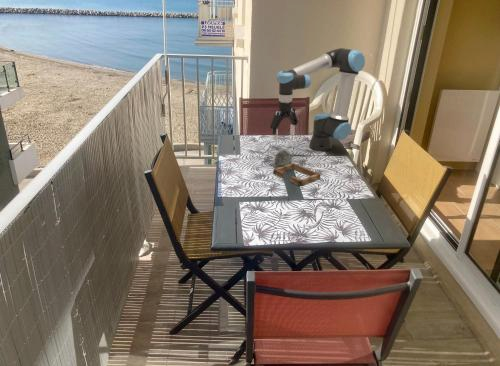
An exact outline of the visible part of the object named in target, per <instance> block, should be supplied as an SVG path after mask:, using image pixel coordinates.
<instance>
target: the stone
mask: <svg viewBox="0 0 500 366" xmlns="http://www.w3.org/2000/svg"><path fill="white" fill-rule="evenodd" d="M274 157H275V158H274V162H273V163H275V165H276V166H278V167H279V166H286V165H289V164H292V155H291V154H290V152H289V151H287V150H285V149H281V150H280V151H278V152H277V153H276V154H275V156H274Z"/></svg>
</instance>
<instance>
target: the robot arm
mask: <svg viewBox="0 0 500 366" xmlns="http://www.w3.org/2000/svg"><path fill="white" fill-rule="evenodd" d="M365 65H366V59H365V55H364V53H363V52H362V51H360V50H357V49H350V48H343V47H342V48H341V47H340V48H336V49H332V50H329V51H326V52H325V53H323V54H322V55H321V56H320V57H318V58H317V57H316V58H315V59H313V60H310V61H308V62H305V63H303V64H301V65H299V66H296V67H294V68H292V69H289V70H280V71H278V73H277V75H276V81H277V82H278V85H279V86H278V110H279V111H277V110H275V111H274V114H273V118H272V121H271V124H270V126H269V128H270V129H271V130H272V135H273V140H274V141H276V142H277V141H278V138H279V137H278V134H279V132H278V131H279V129H278V128H279V126H280V124H281V122H282V121H283V120H284V119H288V120H289V122H290V127H289V128H290V129H289V131H290V132H289V135H290V136H295V130H296V126H297V125H298V124H299V120H298V117H297V114H296V109H295V108H294V107H293V92H294V91H296V90H301V89H302V90H303V89H308V88H310V86H311V84H312V79H311V76H312V75H313V74H316V73H318V72H321V71H323V70H325V69H326V70H329V69H331V68H332V69H333V68H338V69H339V71H338V73H339V74H340V77H339V83H338V89H337V93H336V94H337V95H336V98H335V102H334V103H335V104H334V110H333V113H329V112H326V113H325V112H323V113H316V114H315V115H314V119H313V128H312V129H313V130H312V136H311V139H310V141H309V145H308V147H309V148H310V149H311V150H313V151H318V152H328V151H331V150H332V149H333V143H332V140H331V138H333V139H334V140H339V141H341V140H345V139H346V138H347V137H348V136H350V133H351V131H352V126H351V124H350V122H349V121H350V118H349V117H348V113H349V109H350V103H351V98H352V94H353V90H354V86H355V85H354V84H355V79H356V77H358V75H359V72H361V71H362V70H363V68H364V67H365Z"/></svg>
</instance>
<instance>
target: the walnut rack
mask: <svg viewBox="0 0 500 366" xmlns="http://www.w3.org/2000/svg"><path fill="white" fill-rule="evenodd" d="M292 170H294V171H297V172H299V173H301V174H304V175H306V177H305V178H302V179H300V178H298V177H295V176H294V175H292V176H290V179H289V181H290V183H292V184H294V185H297V186H299V187H303V186H305V185H308V184H310V183H313V182H316V181H319V180H321V176H322V175H321V173H318V172H316V171H314V170H312V169H309V168H306V167H304V166H302V165H299V164H297V163H294V162H293V163H292V162H291V164H289V165H286V166H283V167H279V168H274V169H273V171H272V172H273V175H274V174H275V176H276V175H277V176H276V177H278V176H279V178H280V179H284V178H285V173H286V172H289V171H292Z"/></svg>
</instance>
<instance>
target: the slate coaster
mask: <svg viewBox="0 0 500 366" xmlns="http://www.w3.org/2000/svg"><path fill="white" fill-rule="evenodd" d="M268 166H270V167H272V166H273V167H272V168H274V169H276V168H279V167H283V166H279V167H278V166H276V165H275V163H274V162H272V163H268Z"/></svg>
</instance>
